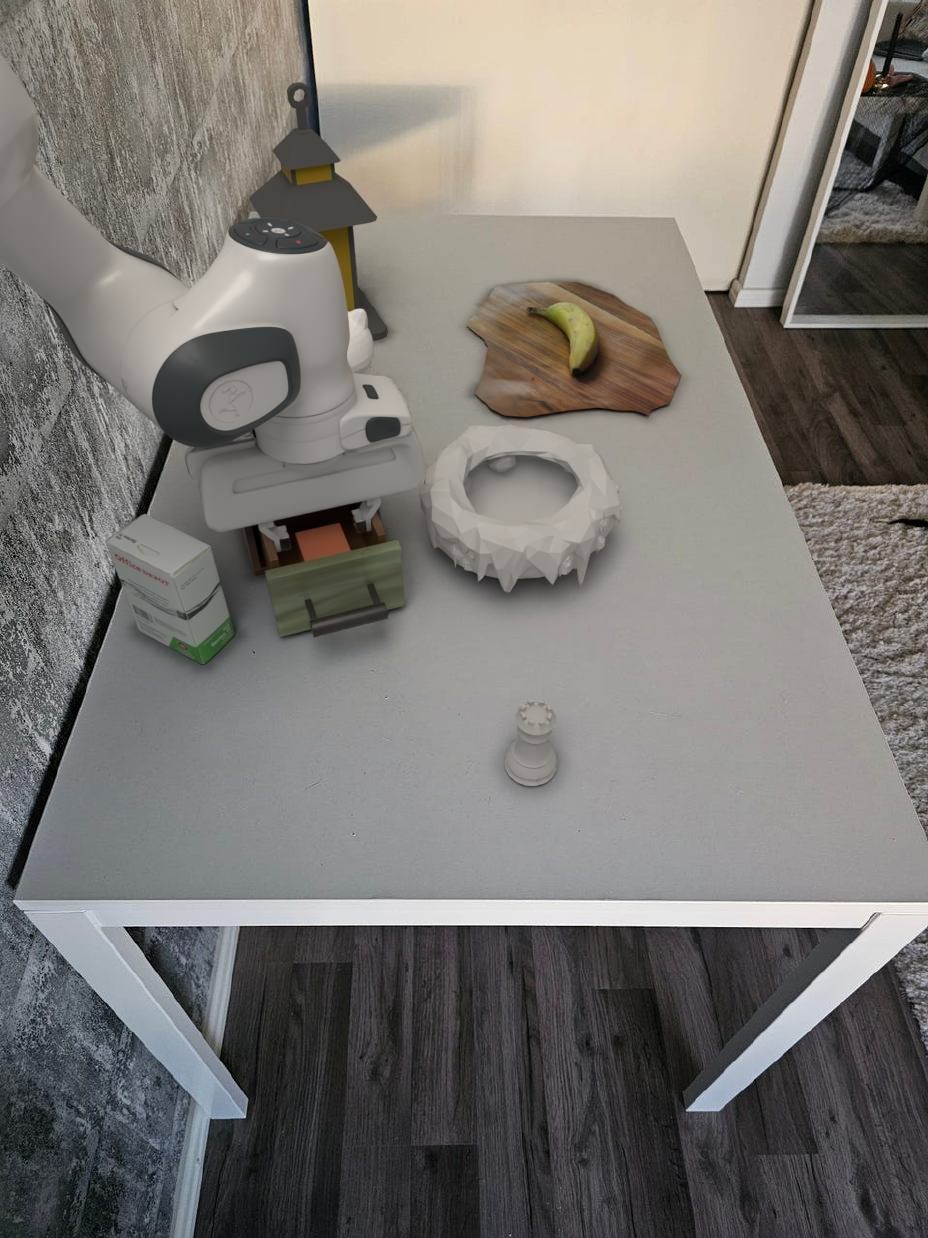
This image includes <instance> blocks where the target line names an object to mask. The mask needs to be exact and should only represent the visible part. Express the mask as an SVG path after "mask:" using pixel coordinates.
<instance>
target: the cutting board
mask: <svg viewBox="0 0 928 1238" xmlns="http://www.w3.org/2000/svg"><path fill="white" fill-rule="evenodd" d="M466 327H468V328H469V329H470V330H471V331H472V332H473V333H475V334H476V335H477V336H478V337H480V338H481V339H483V341H484V343H485V344H486V346H487V350H486V354H485V359H484V367H483V371H482V373H481V375H480V378H479V380H478V382H477V385H476V388H475V391H474V394H475V395H476V396H477V397H478V398H479V399H480V400H481V401H483V402H484V403H485V404H486V405H487V407H488V408H489V409H490V410H493V411H495V412H496V413H499V414H501V415H503V416H507V417H508V416H510V417H522V418H523V417H524V418H528V417H534V416H540V415H547V414H554V413H560V412H566V411H567V412H568V411H575V410H576V411H577V410H586V409H597V408H599V409H600V408H601V409H606V410H607V409H608V410H613V411H614V410H615V411H621V412H622V411H623V412H628V411H634V412H637V413H640V414H644V415H646V416H649V415H650V413H651V411H653V410H655V409H658V408H660V407H663V406H666V405H669V404H670V403H671V401H672V398H673V396H674V393H675V391H676V389H677V386H678V383H679V381H680V379H681V377H682V373H680V372H679V370H678V368H676V366H675V364H674V363H673V361H672V360H671V358H670V356H669V354H668V351H667V349H666V347H665V345H664V342H663V339H662V337H661V335H660V332H659V329H658V327H657V325H656V323H655V322H654V321H653V319H652V317H650V316H649V315H647V314H646V313H644V312H642V311H640V310H638V309H637V308H635V307H633V306H631V305H629V304H627V303H626V302H624V301H623V300H622V299H621V298H619V297H618V296H616V295H615V294H614V293H609V292H607V291H605V290H602V289H600V288H597V287H594V286H592V285H587V284H585V283H581V282H578V281H543V282H524V283H513V284H505V285H504V284H503V285H497V286H495V288H494V289H492V291H491V293H490V294H489V295H488V296H487V298H486V299H485V301H484V302H483V303H482V305H481V306H480V307H479V308H478V310H477V311H476V312H475V313H474V314H473V315H472V316H471V318H470V319H469V321H468V323H467V324H466Z"/></svg>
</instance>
